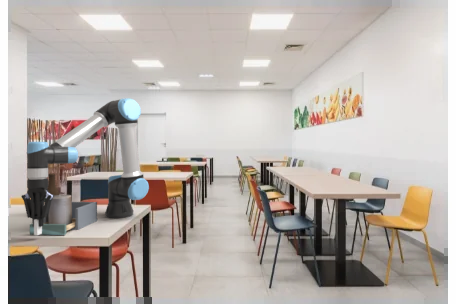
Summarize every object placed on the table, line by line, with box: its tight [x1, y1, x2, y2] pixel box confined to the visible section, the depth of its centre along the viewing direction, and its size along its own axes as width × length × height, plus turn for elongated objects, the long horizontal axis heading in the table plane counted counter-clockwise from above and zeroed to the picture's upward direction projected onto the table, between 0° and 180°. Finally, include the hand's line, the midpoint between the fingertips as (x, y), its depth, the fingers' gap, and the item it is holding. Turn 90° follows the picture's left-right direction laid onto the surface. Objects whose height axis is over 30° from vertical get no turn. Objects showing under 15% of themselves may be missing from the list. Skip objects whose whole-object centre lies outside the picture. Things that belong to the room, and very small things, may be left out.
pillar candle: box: [49, 194, 72, 226], centre depth 141 cm, size 10×10×15 cm
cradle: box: [43, 201, 98, 231], centre depth 149 cm, size 18×17×10 cm
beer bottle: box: [45, 173, 60, 200], centre depth 173 cm, size 8×8×24 cm
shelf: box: [29, 218, 76, 236], centre depth 140 cm, size 18×16×4 cm
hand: (37, 234), depth 125 cm, fingers closed
